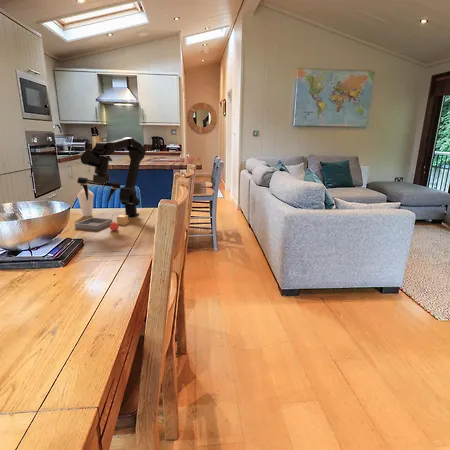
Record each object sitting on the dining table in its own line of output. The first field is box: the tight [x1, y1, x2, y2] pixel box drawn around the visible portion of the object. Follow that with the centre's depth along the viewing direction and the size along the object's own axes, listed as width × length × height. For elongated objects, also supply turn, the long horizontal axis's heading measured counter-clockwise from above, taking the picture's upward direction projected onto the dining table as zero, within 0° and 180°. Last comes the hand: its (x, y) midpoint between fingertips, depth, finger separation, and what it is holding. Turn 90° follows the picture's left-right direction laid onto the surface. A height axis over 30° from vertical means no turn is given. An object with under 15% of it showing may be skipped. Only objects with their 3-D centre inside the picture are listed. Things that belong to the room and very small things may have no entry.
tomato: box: [109, 221, 120, 232], centre depth 145 cm, size 4×4×4 cm
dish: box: [74, 216, 113, 232], centre depth 151 cm, size 12×12×2 cm
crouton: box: [116, 214, 130, 226], centre depth 157 cm, size 4×4×4 cm
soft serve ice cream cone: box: [76, 187, 95, 218], centre depth 168 cm, size 8×8×16 cm
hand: (97, 201), depth 148 cm, fingers open, 9 cm apart
